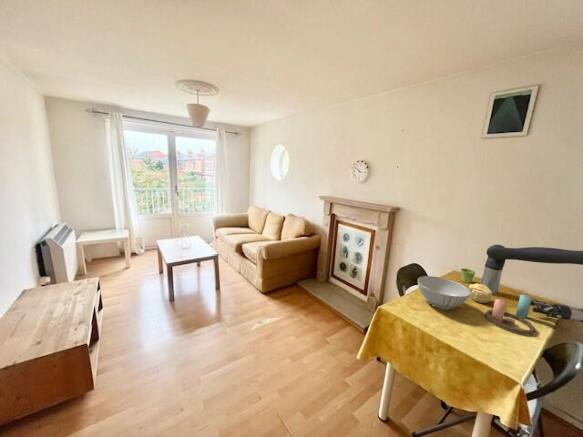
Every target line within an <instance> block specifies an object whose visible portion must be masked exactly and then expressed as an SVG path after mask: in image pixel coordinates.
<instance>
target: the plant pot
mask: <svg viewBox="0 0 583 437" xmlns="http://www.w3.org/2000/svg"><path fill="white" fill-rule="evenodd" d="M460 273H461V274H460V276H461V278H460V280H462V281H461V282H463V283H465V282H467V283H466V284H472V281H473V279H474V277H475V275H476V273H477V272H476V271H475V270H472V269H469V268H464V267H463V268H460Z"/></svg>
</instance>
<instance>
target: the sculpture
mask: <svg viewBox="0 0 583 437" xmlns="http://www.w3.org/2000/svg"><path fill="white" fill-rule="evenodd" d="M468 289H469V290H470V292H471V294H470V296H469V298H471V300H472V301H475V302H477V303H481V304H486V303H489V302H490V301H491V299H492V297H493V294H492V291H491V290H490V289H489V288H488V287H487V286H484V285H482V284H480V283H478V282H477V283H473V284H472V283H469V287H468Z"/></svg>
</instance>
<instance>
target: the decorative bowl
mask: <svg viewBox="0 0 583 437" xmlns="http://www.w3.org/2000/svg"><path fill="white" fill-rule="evenodd" d="M417 285H418V289H419V291H420V294H422V296H423V297H424V298H425V299H426V301H427V302H428V301H429V302H428V303H429V304H430V305H431V304H432V305H431V306H433V305H434V306H433V307H435V306H436V307H435V308H437V307H438V309H440V310H451V309H453V308H456V307H459V306H461V305H463V304H464V303H466V302H467V301H468V299H469V298H470V294H471V292H470V290H469V287H466V286H464V285H463V284H461V283H460V282H456V281H454V280H451V279H448V278H446V277H445V278H444V277H440V276H433V275H432V276H430V275H425V276H420V277H418V278H417Z"/></svg>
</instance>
